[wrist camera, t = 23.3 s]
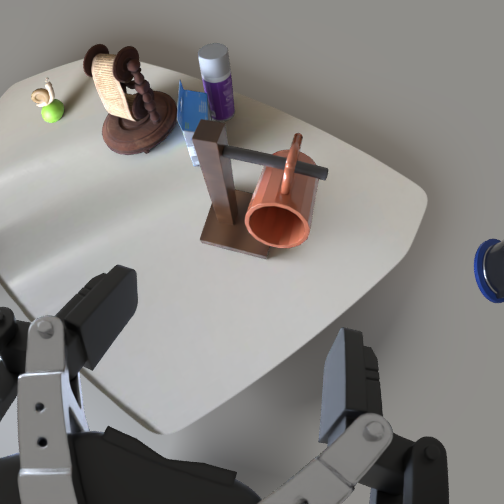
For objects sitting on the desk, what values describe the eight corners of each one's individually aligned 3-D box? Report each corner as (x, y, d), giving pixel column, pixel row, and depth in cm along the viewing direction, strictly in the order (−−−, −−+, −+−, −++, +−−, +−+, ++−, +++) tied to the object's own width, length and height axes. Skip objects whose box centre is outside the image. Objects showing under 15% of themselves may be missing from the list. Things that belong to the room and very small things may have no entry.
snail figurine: (69, 121, 55) (44, 87, 43) (46, 130, 55) (20, 98, 43) (73, 104, 56) (50, 70, 45) (51, 113, 56) (27, 81, 44)
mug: (312, 198, 39) (302, 254, 33) (262, 185, 39) (243, 239, 34) (331, 130, 30) (325, 183, 25) (271, 116, 31) (249, 165, 26)
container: (233, 122, 53) (226, 59, 38) (207, 121, 53) (194, 60, 38) (235, 103, 54) (230, 42, 39) (211, 103, 54) (200, 43, 40)
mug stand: (201, 242, 47) (159, 165, 25) (219, 189, 49) (195, 92, 28) (294, 266, 45) (325, 203, 24) (307, 211, 48) (339, 120, 26)
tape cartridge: (216, 164, 50) (205, 116, 38) (192, 167, 50) (176, 120, 38) (213, 123, 53) (204, 74, 41) (192, 126, 53) (178, 78, 41)
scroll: (93, 147, 52) (44, 80, 33) (135, 93, 56) (104, 21, 37) (151, 168, 50) (107, 89, 31) (194, 108, 54) (173, 24, 35)
